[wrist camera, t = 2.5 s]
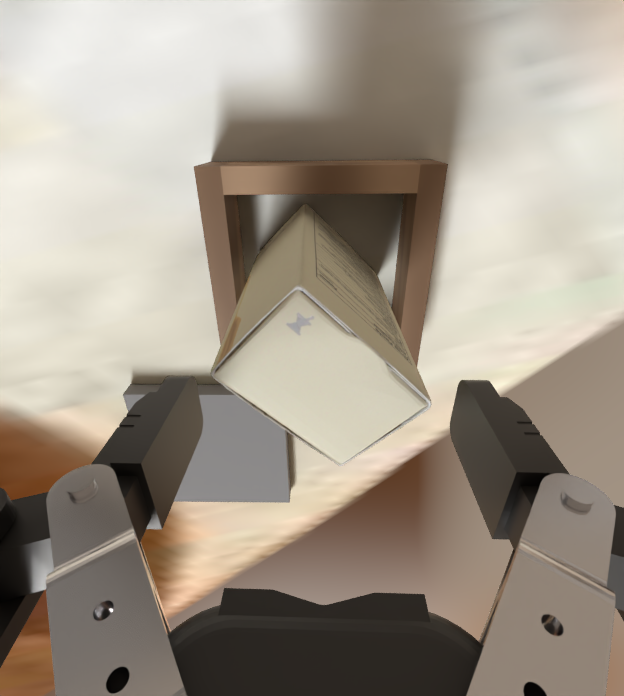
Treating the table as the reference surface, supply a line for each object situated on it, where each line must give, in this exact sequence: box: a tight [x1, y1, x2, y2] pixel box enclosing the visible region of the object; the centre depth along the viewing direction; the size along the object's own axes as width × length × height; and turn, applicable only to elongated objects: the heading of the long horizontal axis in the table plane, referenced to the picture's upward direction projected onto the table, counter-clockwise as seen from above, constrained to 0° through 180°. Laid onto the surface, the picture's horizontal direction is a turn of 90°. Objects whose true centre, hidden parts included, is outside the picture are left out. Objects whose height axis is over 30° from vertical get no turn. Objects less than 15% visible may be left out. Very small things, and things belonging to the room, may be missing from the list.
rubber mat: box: [123, 384, 291, 502], centre depth 29 cm, size 11×11×1 cm
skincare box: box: [211, 204, 431, 466], centre depth 17 cm, size 6×4×12 cm
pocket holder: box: [194, 160, 448, 367], centre depth 21 cm, size 11×11×3 cm
